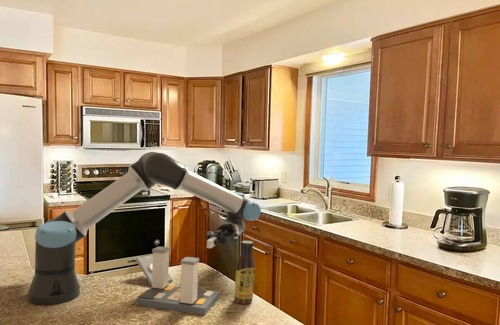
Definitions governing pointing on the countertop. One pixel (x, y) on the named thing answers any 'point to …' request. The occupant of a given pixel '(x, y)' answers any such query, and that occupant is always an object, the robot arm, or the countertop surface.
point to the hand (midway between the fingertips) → (208, 244)
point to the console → (177, 300)
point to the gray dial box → (148, 267)
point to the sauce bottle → (245, 274)
